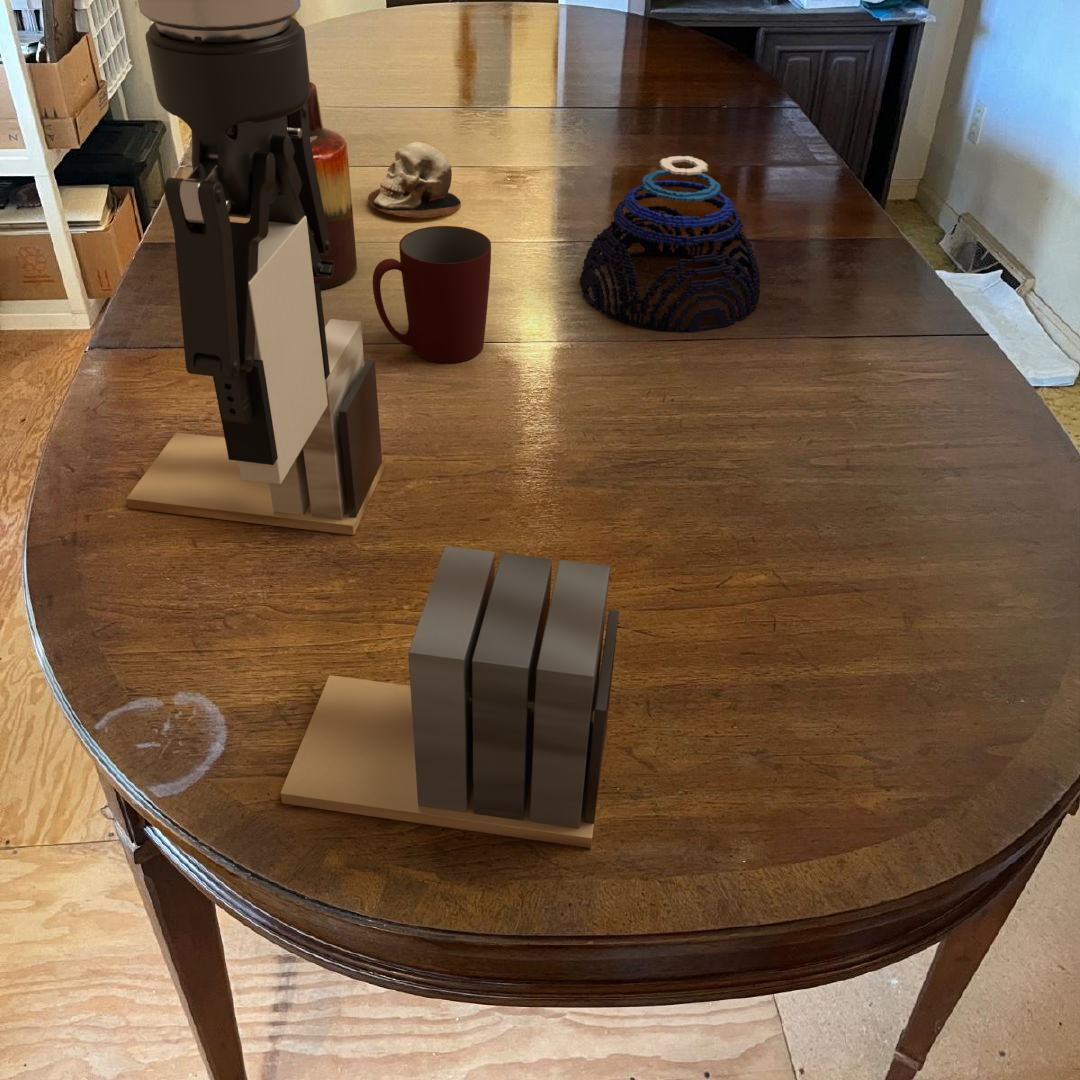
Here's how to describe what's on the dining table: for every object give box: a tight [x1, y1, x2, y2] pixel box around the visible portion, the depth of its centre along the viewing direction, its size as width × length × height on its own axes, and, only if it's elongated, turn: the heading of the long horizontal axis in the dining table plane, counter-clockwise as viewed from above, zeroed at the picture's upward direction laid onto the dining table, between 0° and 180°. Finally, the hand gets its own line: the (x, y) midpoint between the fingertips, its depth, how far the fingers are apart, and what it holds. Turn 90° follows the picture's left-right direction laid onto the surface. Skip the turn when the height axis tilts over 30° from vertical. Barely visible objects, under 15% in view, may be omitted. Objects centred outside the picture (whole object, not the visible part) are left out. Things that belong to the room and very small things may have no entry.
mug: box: [372, 225, 492, 364], centre depth 106 cm, size 12×9×11 cm
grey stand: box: [279, 545, 620, 849], centre depth 63 cm, size 10×19×14 cm, turn 82°
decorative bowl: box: [579, 155, 761, 333], centre depth 117 cm, size 20×20×14 cm
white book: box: [238, 216, 328, 484], centre depth 63 cm, size 9×2×13 cm, turn 171°
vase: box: [307, 81, 358, 291], centre depth 116 cm, size 11×11×20 cm
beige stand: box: [125, 318, 387, 536], centre depth 85 cm, size 10×19×14 cm, turn 82°
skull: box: [367, 141, 462, 220], centre depth 138 cm, size 12×10×10 cm
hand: (282, 414), depth 66 cm, fingers closed on white book, 9 cm apart
